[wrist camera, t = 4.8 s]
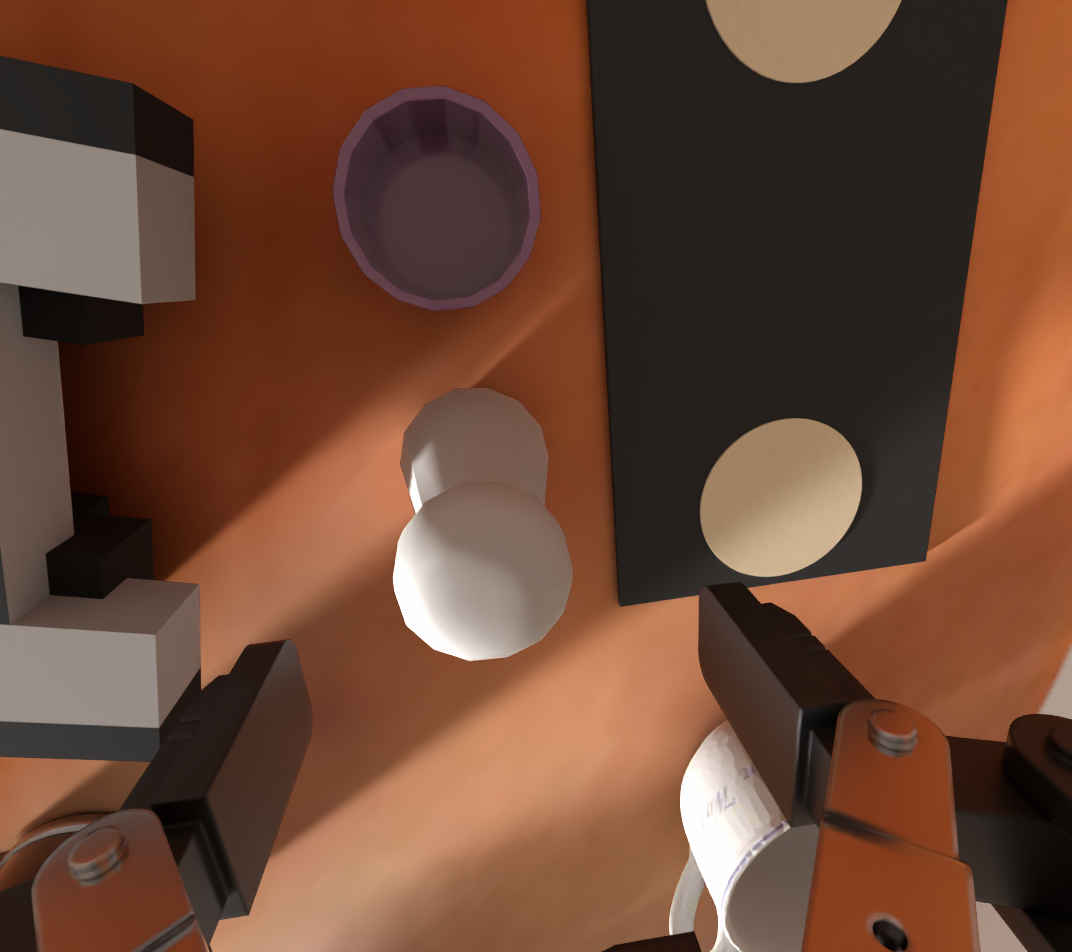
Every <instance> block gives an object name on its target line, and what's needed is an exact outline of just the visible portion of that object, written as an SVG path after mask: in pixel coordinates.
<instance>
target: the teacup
mask: <svg viewBox="0 0 1072 952" xmlns="http://www.w3.org/2000/svg"><path fill="white" fill-rule="evenodd" d="M680 809H681V816H682V821H683V825H684V829H685V832H686V835H687V838H688V841H689V844H690V853H689V860H688V862H687V864H686V866H685V869H684V871H683V873H682V876H681V878H680V881H679V883H678V886H677V888H676V891H675V894H674V897H673V901H672V905H671V909H670V918H669V933H670V935H674V934H680V933H686V932H691V931H694V919H695V914H696V909H697V905H698V902H699V899H700V896H701V893H702V891H703V888H704V886H705V884H706V885H707V887H708V889H709V891H710V894H711V896H712V898H713V900H714V902H715V905H716V907H717V914H718V935H717V940H716V943H715V945H714V947H713V949H712V950H711V951H709V952H801V947H802V941H803V934H804V928H805V921H806V915H807V908H808V901H809V895H810V888H811V882H812V875H813V868H814V862H815V855H816V849H817V842H818V836H819V828H818V827H817V825H816V824H812V825H806V826H800V827H794V828H790V826H789V824H788V822H787V821H786V819H785V817H784V816H783V814H782V812H781V810H780V809H779V807H778V805H777V804H776V802H775V800H774V798H773V797H772V795H771V793H770V792H769V790H768V788H767V786H766V785H765V783H764V781H763V780H762V778H761V776H760V774H759V773H758V771H757V769H756V768H755V766H754V764H753V762H752V761H751V759H750V757H749V756H748V754H747V752H746V750H745V749H744V747H743V745H742V744H741V742H740V740H739V739H738V737H737V735H736V733H735V732H734V730H733V728H732V727H731V725H730V723H729V721H728V720H726V721H724V722H723V723H721V724H720V725H719V726H718V727H716V728H715V729H714V730H713V731H712V732H711V733H710V734H709V735H708V736H707V737H706V739H705V740H704V741H703V742H702V744H701V746H700V747H699V749H698V750H697V752H696V753H695V755H694V756H693V758H692V759H691V761H690V763H689V765H688V767H687V770H686V772H685V775H684V778H683V781H682V786H681V794H680Z"/></svg>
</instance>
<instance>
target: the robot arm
mask: <svg viewBox="0 0 1072 952" xmlns="http://www.w3.org/2000/svg"><path fill="white" fill-rule="evenodd" d="M698 653H699V662H700V667H701V671H702V674H703V677H704V679H705V682H706V684H707V685H708V687H709V689H710V691H711V692H712V694H713V696H714V697H715V699H716V701H717V703H718V704H719V706H720V708H721V709H722V711H723V713H724V715H725V716H726V718H727V720H728V721H729V723H730V725H731V727H732V728H733V730H734V732H735V733H736V735H737V737H738V739H739V740H740V742H741V744H742V745H743V747H744V749H745V750H746V752H747V754H748V756H749V757H750V759H751V761H752V762H753V764H754V766H755V768H756V769H757V771H758V773H759V774H760V776H761V778H762V780H763V781H764V783H765V785H766V786H767V788H768V790H769V792H770V793H771V795H772V797H773V798H774V800H775V802H776V804H777V805H778V807H779V809H780V810H781V812H782V814H783V816H784V817H785V819H786V821H787V822H788V824H789V826H790V828H794V827H800V826H806V825H812V824H816V825H817V827H818V828H819V836H818V842H817V849H816V855H815V862H814V868H813V875H812V882H811V888H810V895H809V901H808V908H807V915H806V921H805V928H804V934H803V941H802V947H801V952H980V941H979V932H978V922H977V912H976V902H975V901H978V902H984V903H990V904H992V906H993V907H994V908H995V910H996V911H997V912H998V914H999V915H1000V916H1001V918H1002V919H1003V920H1004V921H1005V923H1006V924H1007V925H1008V927H1009V928H1010V929H1011V930H1012V932H1013V933H1014V934H1015V936H1016V937H1017V938H1018V940H1019V941H1020V942H1021V943H1022V945H1023V946H1024V947H1025V949H1026V950H1027V951H1028V952H1072V720H1071V719H1067V718H1063V717H1059V716H1054V715H1046V714H1030V715H1024V716H1021V717H1019V718H1017V719H1015V720H1014V721H1013V722H1012V723H1011V725H1010V728H1009V732H1008V736H1007V740H1006V742H998V741H988V740H979V739H969V738H959V737H951V736H945V735H944V733H943V732H942V731H941V730H940V728H939V727H938V726H937V725H936V724H935V723H933V722H932V721H931V720H929V719H928V718H927V717H925V716H924V715H922V714H921V713H919V712H917V711H915V710H913V709H911V708H909V707H906V706H904V705H901V704H898V703H895V702H891V701H886V700H880V699H875V698H874V697H873V696H872V695H871V694H870V693H869V692H868V691H867V690H866V689H865V688H864V687H863V686H862V685H861V683H860V682H859V681H858V680H857V679H856V678H855V677H854V676H853V675H852V674H851V673H850V672H849V671H848V670H847V669H846V668H845V667H844V666H843V665H842V664H841V663H840V662H839V661H838V660H837V659H836V658H835V657H834V656H833V654H832V653H831V652H830V651H829V650H825V646H824V645H823V644H822V643H821V642H820V641H819V640H818V639H817V638H816V637H815V636H812V635H811V632H810V631H809V630H808V629H807V628H806V627H805V626H804V624H803V623H802V622H801V621H800V620H799V619H798V618H797V617H796V616H795V615H793V614H791V613H789V612H787V611H786V610H784V609H782V608H780V607H778V606H776V605H775V604H773V603H764V604H761V603H760V602H759V601H758V600H757V599H756V598H755V596H754V595H753V594H752V593H751V592H750V591H749V590H748V589H747V588H746V586H745V585H744V584H743V583H741V582H739V581H737V582H730V583H722V584H714V585H707V586H702V587H701V589H700V593H699V639H698ZM179 720H180V722H179V723H177V724H176V725H175V726H174V728H173V729H172V731H171V732H170V734H169V735H168V737H167V742H166V743H163V745H162V746H161V748H160V749H159V751H158V752H157V754H156V755H155V757H154V758H153V760H152V761H151V763H150V764H149V766H148V767H147V769H146V770H145V772H144V773H143V775H142V776H141V778H140V779H139V781H138V782H137V784H136V785H135V787H134V788H133V790H132V791H131V793H130V794H129V796H128V797H127V799H126V800H125V802H124V803H123V805H122V807H121V808H120V810H119V811H118V812H115V813H112V814H109V815H108V814H83V815H75V816H69V817H64V818H60V819H57V820H53V821H51V822H48V823H45V824H43V825H41V826H39V827H37V828H35V829H34V830H32V831H30V832H29V833H27V834H26V835H25V836H23V837H22V838H21V839H20V840H19V841H18V842H17V843H16V844H15V845H14V846H13V848H12V849H11V850H10V851H6V852H3V853H0V952H212V949H211V947H210V942H211V939H212V937H213V934H214V932H215V929H216V927H217V924H218V921H219V920H222V919H228V918H235V917H241V916H247V915H249V913H250V910H251V907H252V904H253V902H254V899H255V896H256V893H257V890H258V887H259V884H260V881H261V879H262V876H263V873H264V870H265V867H266V864H267V861H268V859H269V856H270V853H271V850H272V847H273V844H274V841H275V838H276V836H277V833H278V830H279V827H280V824H281V821H282V818H283V815H284V813H285V810H286V807H287V804H288V801H289V798H290V795H291V792H292V790H293V787H294V784H295V781H296V778H297V775H298V772H299V770H300V767H301V764H302V761H303V758H304V755H305V752H306V749H307V747H308V744H309V741H310V737H311V732H312V707H311V702H310V698H309V694H308V691H307V687H306V683H305V679H304V675H303V671H302V668H301V664H300V660H299V656H298V652H297V649H296V646H295V644H294V642H293V641H292V640H290V639H287V640H280V641H272V642H265V643H257V644H250V645H248V646H246V648H245V649H244V650H243V652H242V654H241V655H240V657H239V659H238V660H237V662H236V663H235V665H234V667H233V668H232V670H231V672H230V673H229V674H228V675H220V676H218V677H217V678H215V679H214V680H213V681H212V682H211V683H209V684H208V685H207V686H206V687H205V688H204V689H202V690H201V691H200V692H199V693H198V694H197V695H195V696H194V698H193V699H192V701H191V702H190V704H189V705H188V707H187V708H186V710H185V711H184V713H183V714H182V716H181V717H180V719H179ZM602 952H701V949H700V946H699V943H698V941H697V938H696V935H695V932H694V931H691V932H686V933H680V934H674V935H669V936H663V937H657V938H652V939H646V940H640V941H635V942H629V943H623V944H618V945H614V946H612V947H610V948H608V949H606V950H604V951H602Z"/></svg>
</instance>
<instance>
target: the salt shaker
mask: <svg viewBox="0 0 1072 952" xmlns="http://www.w3.org/2000/svg"><path fill="white" fill-rule="evenodd" d="M548 461H549V456H548V452H547V448H546V444H545V440H544V436H543V432H542V428H541V426H540V425H539V424H538V422H537V421H536V420H535V419H534V418H533V416H532V415H531V414H530V413H529V412H528V411H527V409H526V408H525V407H524V406H523V405H522V403H521V402H520V401H518V400H515V399H513V398H511V397H509V396H506V395H504V394H502V393H499V392H497V391H495V390H493V389H490V388H458V389H454V390H452V391H450V392H448V393H446V394H444V395H442V396H440V397H438V398H437V399H435V400H433V401H431V402H429V403H427V404H425V405H424V406H423V408H422V409H421V410H420V412H419V413H418V414H417V416H416V417H415V418H414V420H413V421H412V422H411V424H410V425H409V426H408V428H407V429H406V430H405V432H404V437H403V445H402V452H401V460H400V466H401V469H402V472H403V475H404V478H405V482H406V485H407V488H408V491H409V494H410V498H411V502H412V506H413V509H414V513H415V516H414V517H413V518H412V520H411V521H410V522H409V523H408V525H407V526H406V527H405V529H404V530H403V531H402V534H401V536H400V539H399V541H398V547H397V554H396V561H395V567H394V574H393V583H394V591H395V595H396V597H397V600H398V603H399V606H400V609H401V611H402V614H403V617H404V620H405V623H406V625H407V626H408V627H409V628H410V629H411V630H412V631H413V632H415V633H416V634H417V635H418V636H419V637H420V638H421V639H423V640H424V641H425V642H426V643H427V644H428V645H429V646H431V647H432V648H433V649H434V650H437V651H441V652H444V653H447V654H450V655H453V656H456V657H459V658H462V659H465V660H468V661H473V660H484V659H494V658H505V657H509V656H511V655H513V654H515V653H517V652H519V651H521V650H523V649H525V648H527V647H529V646H531V645H534V644H536V643H538V642H540V641H541V640H542V639H543V638H544V636H545V635H546V634H547V633H548V632H549V630H550V629H551V628H552V627H553V626H554V624H555V623H556V622H557V621H558V620H559V619H560V617H561V616H562V615H563V614H564V610H565V607H566V603H567V600H568V596H569V592H570V589H571V585H572V581H573V566H572V562H571V558H570V555H569V551H568V547H567V543H566V539H565V535H564V532H563V530H562V528H561V526H560V524H559V522H558V521H557V520H556V519H555V518H554V517H553V515H552V514H551V513H550V512H549V511H548V510H547V509H546V507H545V495H546V484H547V472H548Z"/></svg>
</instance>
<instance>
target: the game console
mask: <svg viewBox="0 0 1072 952" xmlns="http://www.w3.org/2000/svg"><path fill="white" fill-rule="evenodd" d="M190 300H196V287H195V214H194V140H193V119H191V118H190V117H188V116H186V115H185V114H183V113H181V112H180V111H178V110H176V109H175V108H173V107H171V106H170V105H168V104H166V103H165V102H163V101H161V100H160V99H158V98H156V97H154V96H153V95H151V94H149V93H148V92H146V91H144V90H143V89H141V88H139V87H138V86H136V85H134V84H133V83H128V82H123V81H118V80H113V79H109V78H104V77H99V76H94V75H89V74H85V73H80V72H75V71H70V70H65V69H61V68H56V67H51V66H46V65H42V64H37V63H32V62H27V61H22V60H18V59H13V58H8V57H3V56H0V757H23V758H53V759H82V760H111V761H141V762H151V761H152V760H153V758H154V757H155V755H156V754H157V752H158V751H159V749H160V748H161V746H162V745H163V743H166V742H167V737H168V735H169V734H170V732H171V731H172V729H173V728H174V726H175V725H176V724H177V723H179V722H180V720H179V719H180V717H181V716H182V714H183V713H184V711H185V710H186V708H187V707H188V705H189V704H190V702H191V701H192V699H193V698H194V696H195V695H197V694H198V693H199V692H200V691H201V652H200V584H194V583H181V582H169V581H156V580H154V571H153V546H152V521H151V519H141V518H131V517H121V516H110V514H109V498H108V496H99V495H90V494H80V493H71V492H70V480H69V468H68V456H67V444H66V432H65V421H64V409H63V397H62V385H61V373H60V362H59V350H58V341H59V342H67V343H74V344H81V345H89V344H95V343H101V342H107V341H112V340H118V339H124V338H130V337H136V336H142V335H144V323H143V304H149V303H162V302H176V301H190Z"/></svg>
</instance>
